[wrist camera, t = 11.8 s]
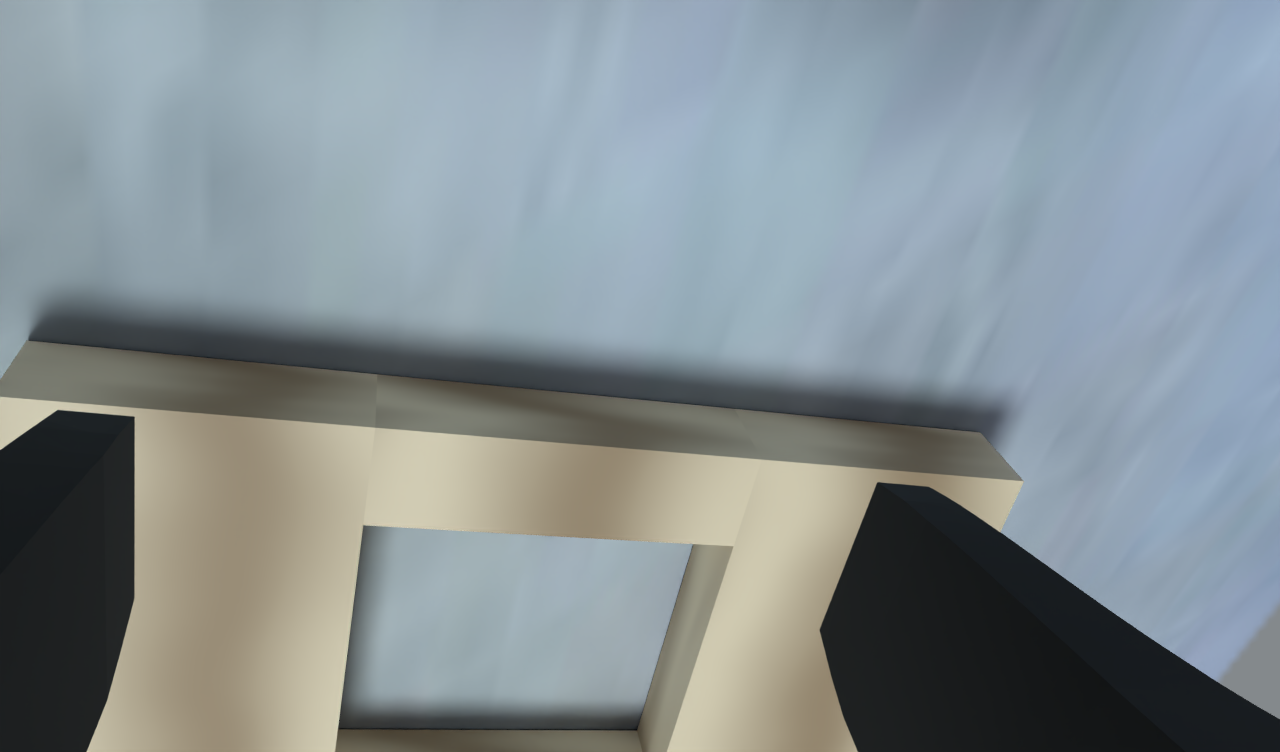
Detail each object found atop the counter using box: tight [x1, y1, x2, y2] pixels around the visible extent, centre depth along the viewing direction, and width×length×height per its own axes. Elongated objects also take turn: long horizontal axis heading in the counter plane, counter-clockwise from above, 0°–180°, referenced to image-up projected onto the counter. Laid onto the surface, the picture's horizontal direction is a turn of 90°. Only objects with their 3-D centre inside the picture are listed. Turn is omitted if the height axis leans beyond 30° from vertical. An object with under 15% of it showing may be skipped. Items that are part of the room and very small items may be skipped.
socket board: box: [0, 341, 1024, 752], centre depth 23 cm, size 20×12×2 cm, turn 77°
